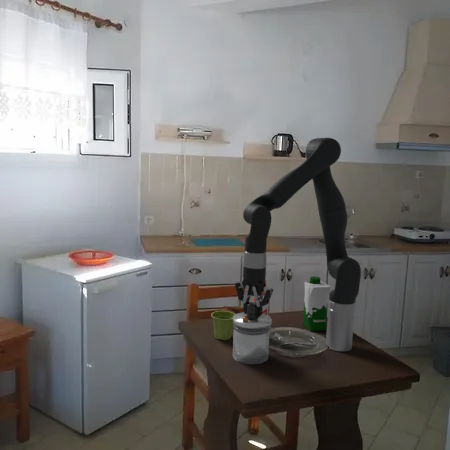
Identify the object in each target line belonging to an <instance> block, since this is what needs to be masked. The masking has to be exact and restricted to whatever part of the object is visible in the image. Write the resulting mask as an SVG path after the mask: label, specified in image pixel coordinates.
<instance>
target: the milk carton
mask: <svg viewBox="0 0 450 450" xmlns="http://www.w3.org/2000/svg"><path fill="white" fill-rule="evenodd" d="M331 288H332V287H331V286H330V285H328V283H325V282H323V281H322V280H321V277H319V276H310V278H309V281H304V301H303V302H304V304H303V315H302V316H303V317H302V326H303V327H304V328H306V329H307V330H308V331H310V332H320V331H321V332H322V331H327V319H328V305H329V293H330V292H331Z"/></svg>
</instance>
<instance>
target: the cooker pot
mask: <svg viewBox="0 0 450 450" xmlns="http://www.w3.org/2000/svg"><path fill="white" fill-rule="evenodd" d="M271 329H272V327H271V325H270V326H269V327H266V328H261V329H249V328H243V327H239V326H237V325H235V324H234V323H233V332H232V335H233V338H232V358H233V359H234V361H236V362H238V363H242V364H244V365H259V364H263V363H265V362H267V361H268V360H269V349H270V330H271Z"/></svg>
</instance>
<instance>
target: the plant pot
mask: <svg viewBox="0 0 450 450" xmlns="http://www.w3.org/2000/svg"><path fill="white" fill-rule="evenodd" d="M234 315H235V313H232V312H228V311H220V310H216V311H214V312H211V315H210V316H211V318H212V322H213V324H212V325H213V333H214V338H215V340H222V341H228V340H230V339H231V338H232V335H233V331H234V328H233V316H234Z"/></svg>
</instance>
